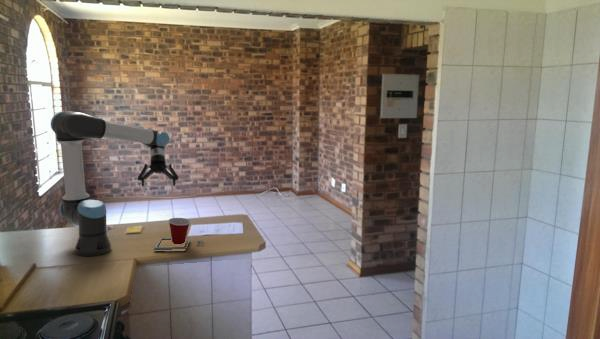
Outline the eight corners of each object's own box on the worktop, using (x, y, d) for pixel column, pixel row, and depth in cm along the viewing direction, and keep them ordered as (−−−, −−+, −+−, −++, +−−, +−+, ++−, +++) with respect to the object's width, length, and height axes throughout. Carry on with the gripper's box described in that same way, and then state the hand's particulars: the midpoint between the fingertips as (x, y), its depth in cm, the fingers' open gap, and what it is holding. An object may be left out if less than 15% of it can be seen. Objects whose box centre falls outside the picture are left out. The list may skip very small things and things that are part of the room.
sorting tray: (154, 251, 201) (154, 247, 200) (160, 241, 215) (160, 237, 215) (185, 251, 202) (185, 247, 202) (189, 241, 217) (189, 238, 216)
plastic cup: (187, 247, 206) (187, 224, 204) (165, 246, 206) (165, 222, 204) (192, 240, 217) (193, 217, 215) (171, 238, 217) (171, 216, 215)
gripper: (180, 162, 237) (182, 194, 225) (133, 162, 228) (132, 195, 216) (182, 154, 231) (184, 186, 219) (133, 153, 222) (132, 187, 210)
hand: (158, 190), depth 218 cm, fingers open, 13 cm apart
